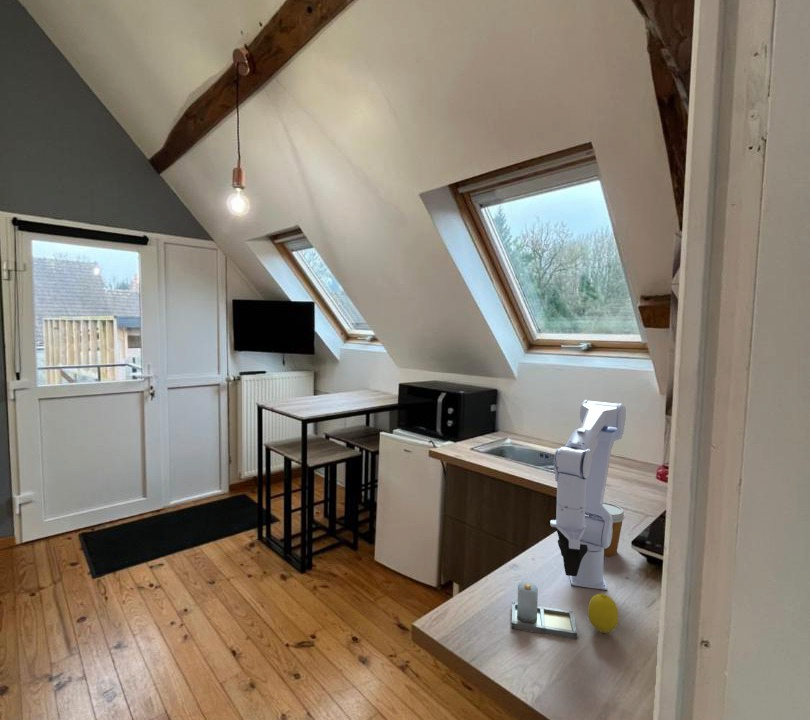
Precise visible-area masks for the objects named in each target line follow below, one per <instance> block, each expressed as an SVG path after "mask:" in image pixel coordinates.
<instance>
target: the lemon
mask: <svg viewBox="0 0 810 720" xmlns="http://www.w3.org/2000/svg"><path fill="white" fill-rule="evenodd" d="M587 614H588V615H587V616H588V619H589V623H591V625H592V626H593V627H594V629H596V630H598V631H600V633H602V634H604V633H610V632H613V631H614V630H615V629H616V627H617V625H618V624H619V610H618V607H617V604H616V602H615V600H614V599H612V597H610V596H608V595H607V594H605V593H597V594H595V595H593V596H592V597H591V599H590V601H589V603H588V608H587Z"/></svg>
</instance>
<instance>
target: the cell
mask: <svg viewBox="0 0 810 720" xmlns="http://www.w3.org/2000/svg"><path fill="white" fill-rule="evenodd" d="M538 594H539V588H538V586H537V585H536V584H534V583H532V582H530V581H529V582H528V581H522V582H520V583H518V585H517V603H518V604H517V618H518V619H519V620H520V621H521V622H523V623H529V624H534V623H536V622H537V606H538V597H539V595H538Z"/></svg>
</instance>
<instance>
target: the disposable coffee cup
mask: <svg viewBox="0 0 810 720" xmlns="http://www.w3.org/2000/svg"><path fill="white" fill-rule="evenodd" d="M602 506H603V507H604V508H605V509H606V510H607V511H608V512H609V513H610V514H611V516H612V519H613V525H612V529H613V531H612V540H611V544H610V546H609V547H608V548H606V549H605V548H604V556H606V557H607V556H608V557H609V556H611V557H613V556H616V555H617V552H618V547H619V542H620V536H621V532H622V526H623V521H624V519H625V517H626V514H625V512H624V509H623V508H622V507H621V506H619V505H618V504H617V505H616V504H614V503H611V502H606V501H603V505H602ZM588 516H589V515H588ZM589 517H593V516H589ZM593 518H596V517H593ZM596 519H600V518H596ZM600 520H603V519H600Z"/></svg>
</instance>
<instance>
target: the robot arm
mask: <svg viewBox="0 0 810 720" xmlns="http://www.w3.org/2000/svg"><path fill="white" fill-rule="evenodd" d="M626 411H627V409H626V406H625V405H624V404H623V403H621V402H620V403H613V402H607V401H605V402H604V401H596V400H595V401H594V400H589V399H584V400H583V401H582V403H581V405H580V409H579V418H580V423H581V426H580V427H579V428H576V429H575V430H574V431H572V432H571V435H570V436H569V438H568V440H567V441H566V443H565V444H564V446H561V447H560V448H559V447H558V448H557V449H556V450H555V453H554V457H553V471H554V479H555V482H557V483H556V509H555V510H556V514H555V516H556V517H555V519H551V520H550V521H549V522H550V523H549V524H550V527H552V528H555V530H556V532H557V535H558V539H557V545H558V548H559V550H560V555H561V557H562V558H563V568H564V572H565V575H566V576H569V581H570V585H571V586H575V587H581V588H582V587H583V588H587V589H589V588H590V589H598V590H603V591H607V590H608V585H607V583H606V581H605V577H604V563H605V562H604V557H605V555H604V548H605V549H606V548H608V547H609V546H610V544H611V540H612V531H613V529H612V525H613V519H612V516H611V514H610V513H609V512H608V511H607V510H606V509H605V508H604V507H603V506H602V505H603V502H604V498H605V497H604V496H605V494H606V493H605V491H606V485H607V479H608V473H609V467H610V460H611V456H612V455H611V454H612V449H613V447H614V443H615V442H616V441H618V440H621V439H622V437H623V434H624V430H625V425H626V413H627V412H626ZM589 516H593V517H596V518H600V519H603V520H600V519H596V518H593V517H589Z"/></svg>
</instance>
